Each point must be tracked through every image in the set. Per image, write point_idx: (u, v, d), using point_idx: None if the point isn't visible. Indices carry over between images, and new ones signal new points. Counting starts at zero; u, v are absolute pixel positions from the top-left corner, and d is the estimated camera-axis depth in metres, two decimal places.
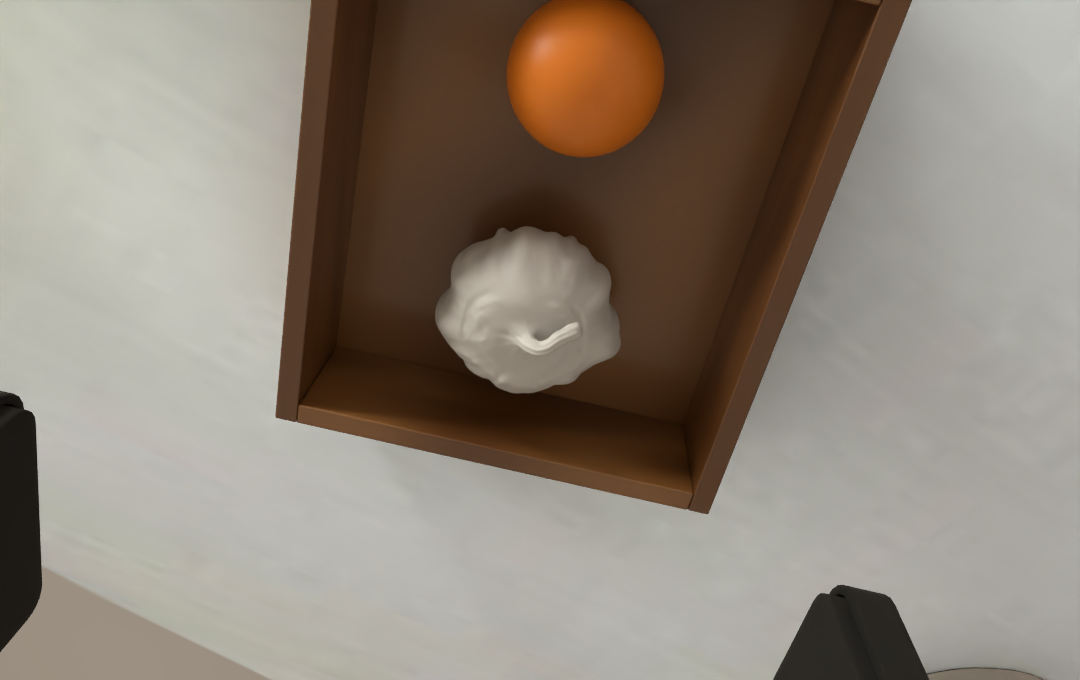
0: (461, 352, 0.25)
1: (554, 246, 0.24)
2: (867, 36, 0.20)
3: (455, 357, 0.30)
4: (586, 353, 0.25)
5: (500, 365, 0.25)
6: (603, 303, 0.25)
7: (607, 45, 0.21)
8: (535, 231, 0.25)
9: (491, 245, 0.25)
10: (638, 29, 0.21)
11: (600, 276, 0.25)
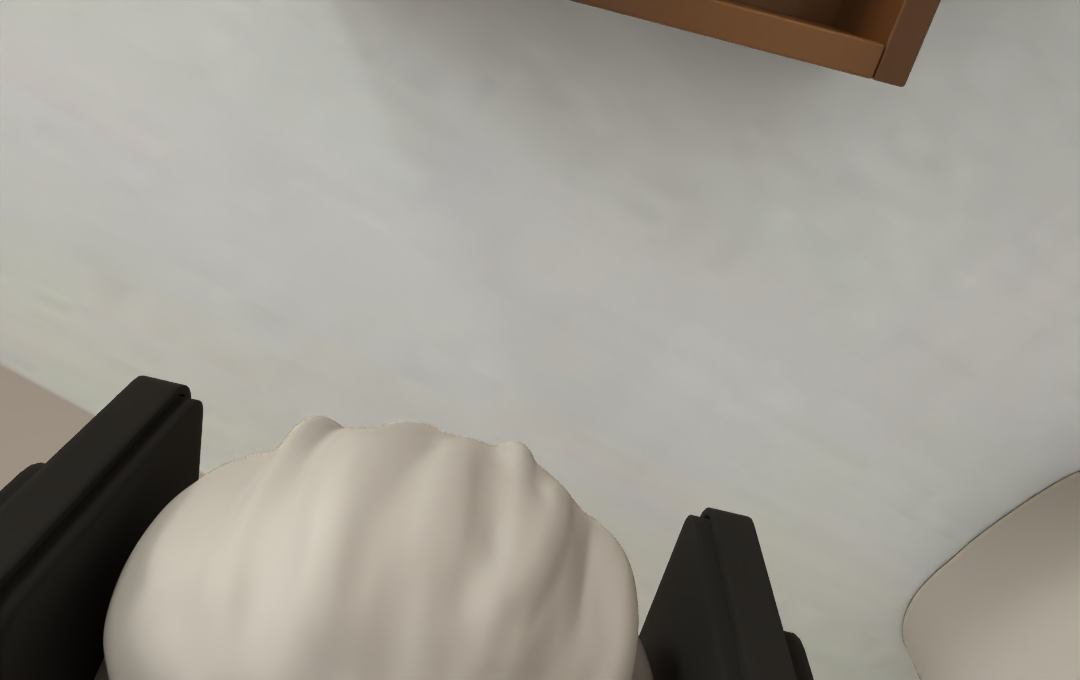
0: None
1: (445, 530, 0.07)
2: None
3: None
4: None
5: None
6: None
7: None
8: (389, 463, 0.07)
9: (240, 509, 0.07)
10: None
11: (606, 604, 0.08)
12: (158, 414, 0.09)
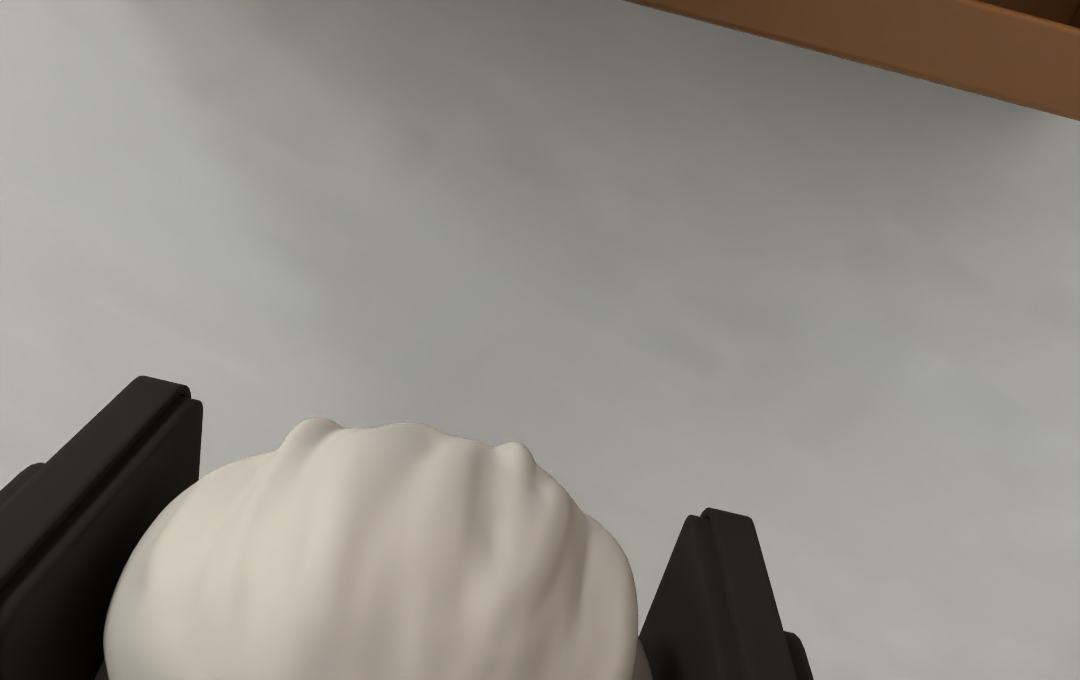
0: None
1: (445, 531, 0.07)
2: None
3: None
4: None
5: None
6: None
7: None
8: (389, 465, 0.07)
9: (240, 510, 0.07)
10: None
11: (606, 604, 0.08)
12: (158, 414, 0.09)
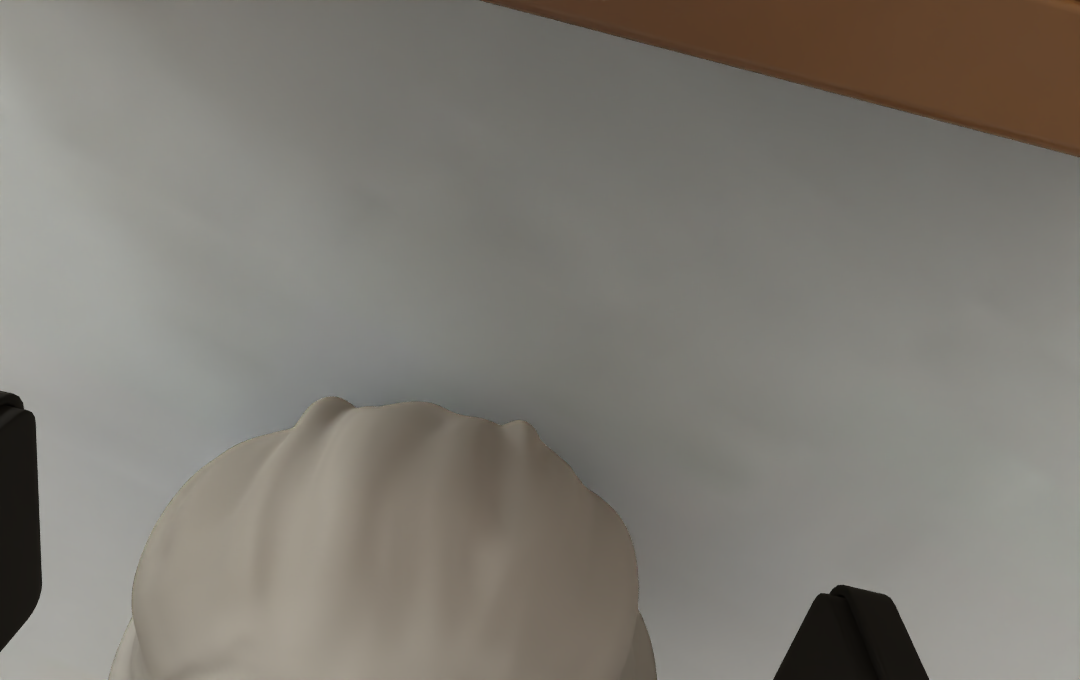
0: None
1: (456, 498, 0.07)
2: None
3: None
4: None
5: None
6: (617, 675, 0.08)
7: None
8: (403, 437, 0.08)
9: (261, 480, 0.08)
10: None
11: (607, 572, 0.08)
12: None
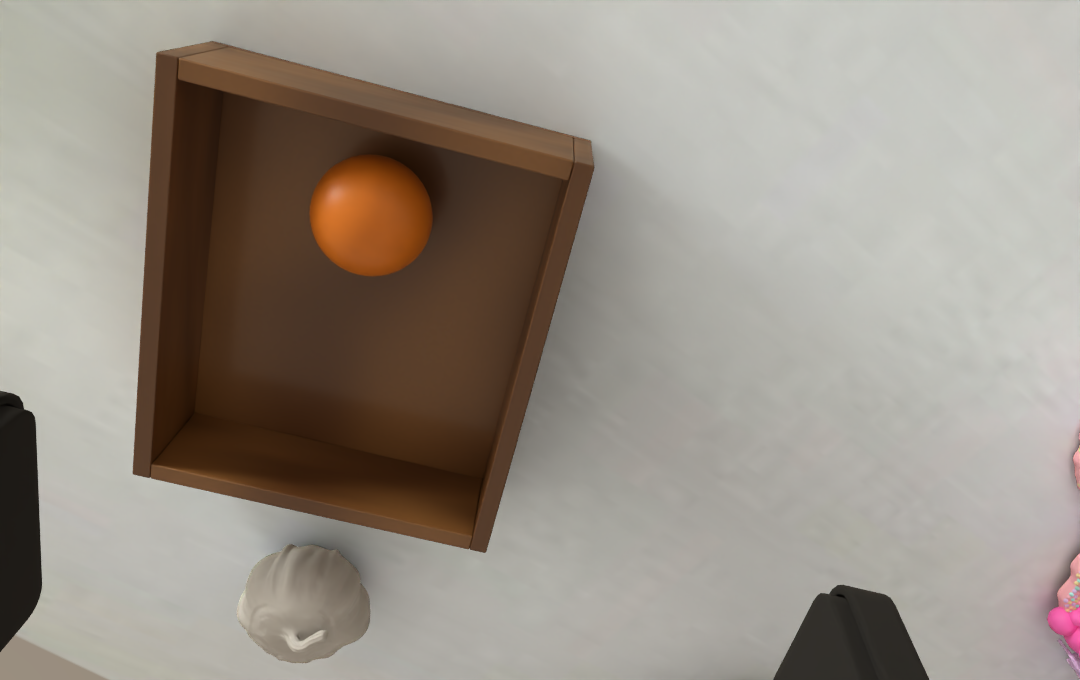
0: (252, 639, 0.37)
1: (313, 571, 0.36)
2: (563, 201, 0.28)
3: (294, 423, 0.36)
4: (336, 642, 0.37)
5: (277, 650, 0.36)
6: (348, 608, 0.37)
7: (375, 201, 0.28)
8: (303, 558, 0.37)
9: (273, 567, 0.37)
10: (402, 187, 0.29)
11: (349, 586, 0.37)
12: None
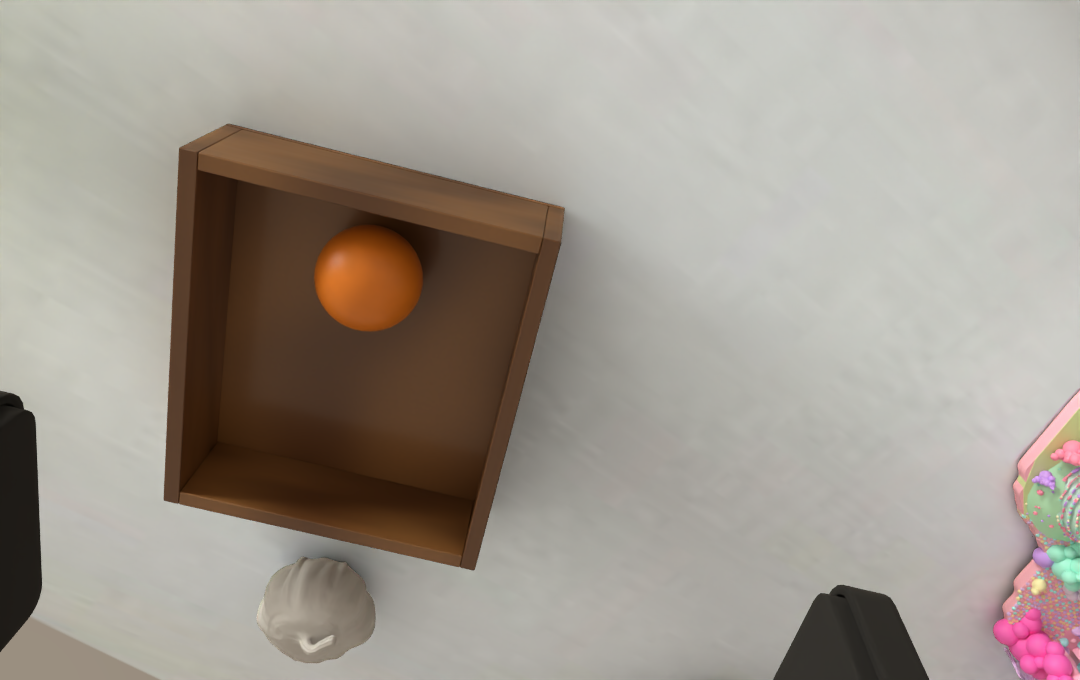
0: (270, 641, 0.41)
1: (324, 583, 0.41)
2: (534, 271, 0.31)
3: (305, 451, 0.41)
4: (344, 645, 0.41)
5: (292, 651, 0.41)
6: (355, 615, 0.41)
7: (370, 271, 0.32)
8: (315, 570, 0.41)
9: (288, 578, 0.41)
10: (395, 256, 0.32)
11: (355, 596, 0.41)
12: None
